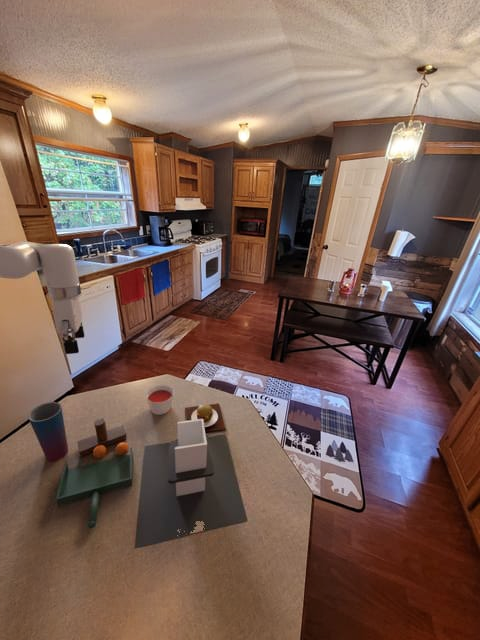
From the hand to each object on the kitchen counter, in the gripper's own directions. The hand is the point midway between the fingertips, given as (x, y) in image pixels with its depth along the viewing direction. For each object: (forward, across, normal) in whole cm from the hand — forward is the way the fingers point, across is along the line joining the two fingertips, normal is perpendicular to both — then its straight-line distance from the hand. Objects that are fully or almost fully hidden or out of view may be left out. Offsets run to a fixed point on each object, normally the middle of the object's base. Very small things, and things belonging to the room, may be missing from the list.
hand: (75, 344), depth 77 cm
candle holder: (+24, +35, +28) cm, 51 cm away
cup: (+24, +17, -5) cm, 30 cm away
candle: (+24, +7, +23) cm, 34 cm away
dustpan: (+24, +32, +6) cm, 41 cm away
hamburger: (+24, +16, +37) cm, 47 cm away
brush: (+24, +17, +6) cm, 30 cm away
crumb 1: (+23, +21, +6) cm, 32 cm away
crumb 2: (+23, +22, +12) cm, 34 cm away
